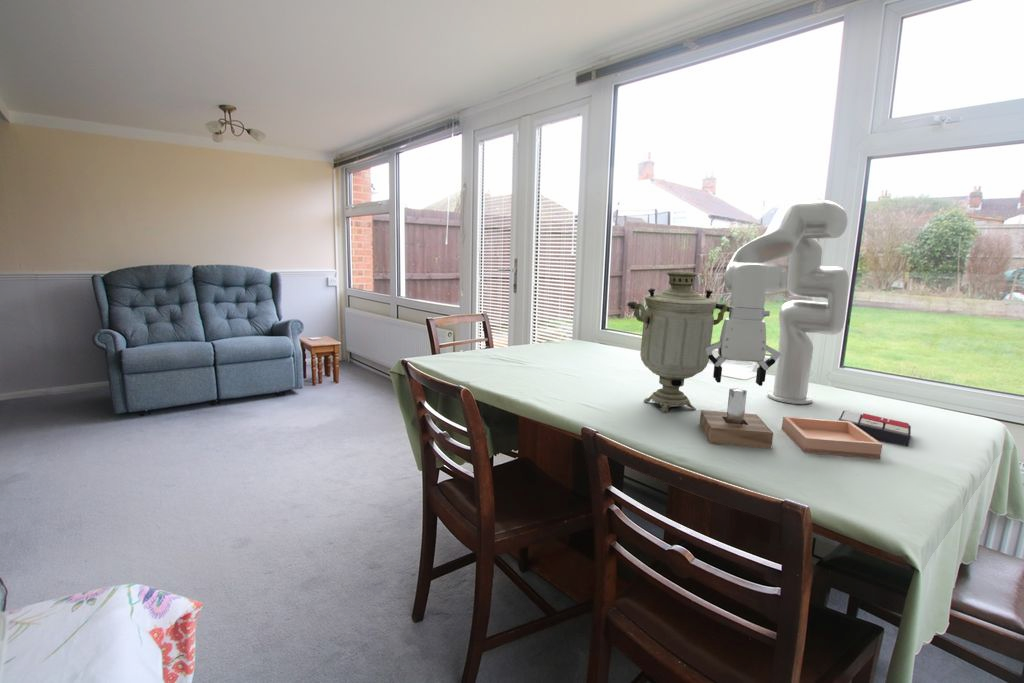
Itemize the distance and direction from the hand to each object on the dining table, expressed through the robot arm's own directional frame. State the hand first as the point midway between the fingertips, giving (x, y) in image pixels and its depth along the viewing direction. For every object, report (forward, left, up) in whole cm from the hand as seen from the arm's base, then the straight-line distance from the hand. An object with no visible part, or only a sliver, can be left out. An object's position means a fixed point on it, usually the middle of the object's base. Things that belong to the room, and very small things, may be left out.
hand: (738, 382), depth 125 cm
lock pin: (0, 0, -14) cm, 14 cm away
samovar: (-25, -13, -14) cm, 32 cm away
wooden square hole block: (0, 0, -14) cm, 14 cm away
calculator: (-12, +37, -15) cm, 42 cm away
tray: (-1, +22, -14) cm, 26 cm away
